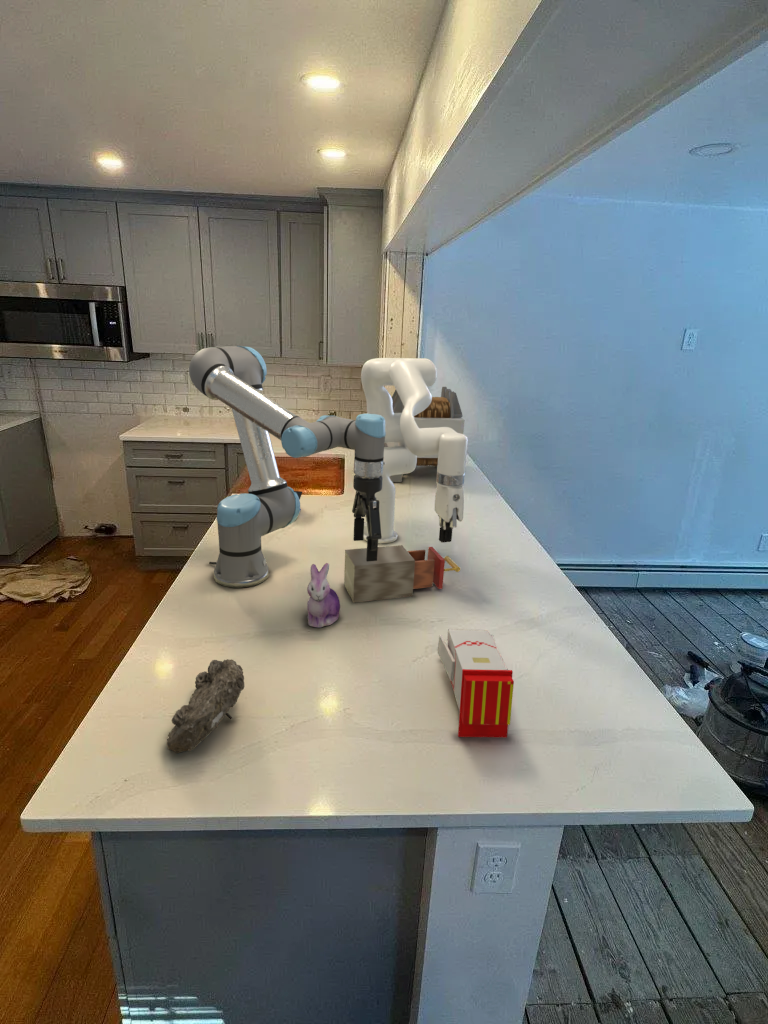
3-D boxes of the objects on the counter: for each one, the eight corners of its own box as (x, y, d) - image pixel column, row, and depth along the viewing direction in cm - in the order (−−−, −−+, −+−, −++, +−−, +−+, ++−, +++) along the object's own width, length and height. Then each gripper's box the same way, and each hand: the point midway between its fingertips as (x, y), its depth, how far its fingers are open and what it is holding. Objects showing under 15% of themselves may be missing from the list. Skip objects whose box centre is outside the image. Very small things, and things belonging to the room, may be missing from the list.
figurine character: (298, 524, 207) (303, 507, 221) (298, 506, 204) (302, 489, 217) (280, 524, 207) (285, 506, 220) (279, 505, 204) (285, 488, 217)
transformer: (382, 463, 289) (386, 382, 275) (445, 464, 293) (451, 384, 279) (390, 482, 257) (394, 392, 243) (460, 483, 261) (468, 394, 247)
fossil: (192, 660, 117) (244, 628, 112) (224, 691, 120) (276, 661, 115) (142, 746, 98) (202, 712, 93) (182, 779, 101) (242, 748, 96)
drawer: (446, 572, 170) (449, 545, 167) (460, 586, 161) (462, 558, 158) (379, 579, 164) (381, 550, 161) (389, 594, 155) (391, 564, 152)
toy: (488, 613, 130) (523, 677, 101) (484, 667, 133) (517, 744, 104) (435, 612, 130) (455, 676, 101) (432, 666, 133) (451, 743, 103)
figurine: (312, 633, 137) (312, 577, 132) (298, 613, 145) (298, 559, 140) (348, 624, 141) (349, 570, 136) (332, 606, 150) (333, 554, 144)
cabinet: (400, 579, 167) (402, 545, 163) (412, 596, 157) (415, 560, 153) (344, 584, 162) (344, 549, 158) (353, 602, 152) (354, 566, 148)
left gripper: (397, 489, 136) (391, 568, 144) (369, 461, 159) (365, 531, 166) (367, 490, 134) (363, 571, 142) (343, 462, 156) (340, 533, 164)
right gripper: (474, 486, 148) (468, 550, 155) (451, 470, 162) (446, 530, 168) (448, 487, 146) (442, 552, 152) (427, 471, 160) (423, 532, 166)
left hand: (364, 550), depth 154 cm, fingers open, 13 cm apart
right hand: (445, 540), depth 160 cm, fingers closed
